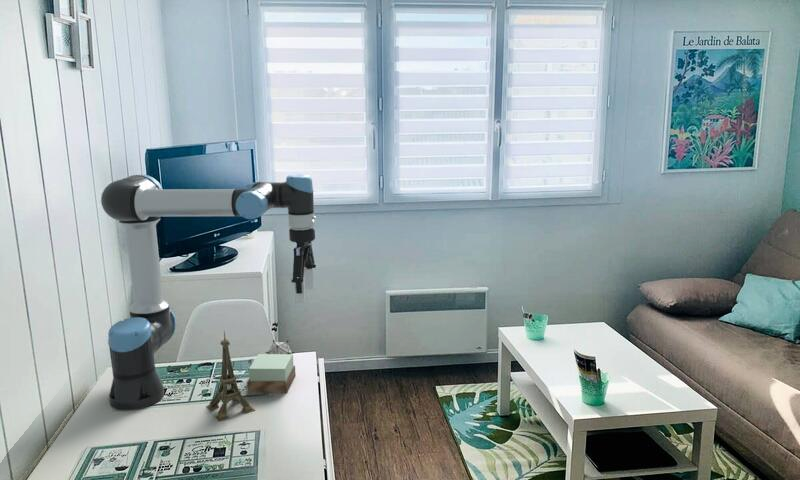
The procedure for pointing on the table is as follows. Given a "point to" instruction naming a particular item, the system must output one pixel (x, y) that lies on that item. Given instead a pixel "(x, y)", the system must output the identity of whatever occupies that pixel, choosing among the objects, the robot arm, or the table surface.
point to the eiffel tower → (226, 392)
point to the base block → (271, 385)
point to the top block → (271, 367)
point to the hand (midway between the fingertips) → (305, 295)
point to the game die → (280, 348)
